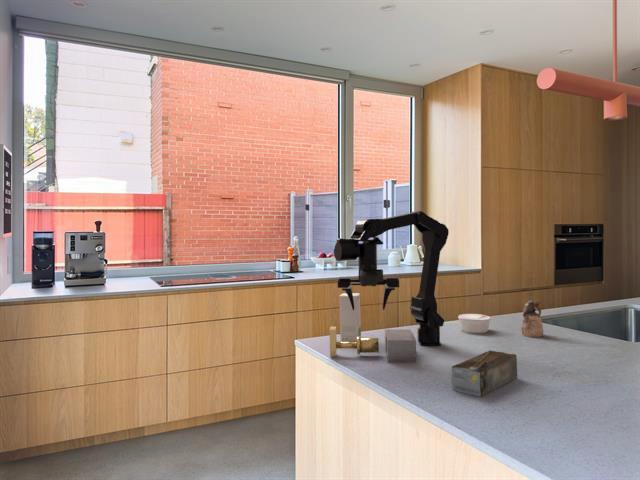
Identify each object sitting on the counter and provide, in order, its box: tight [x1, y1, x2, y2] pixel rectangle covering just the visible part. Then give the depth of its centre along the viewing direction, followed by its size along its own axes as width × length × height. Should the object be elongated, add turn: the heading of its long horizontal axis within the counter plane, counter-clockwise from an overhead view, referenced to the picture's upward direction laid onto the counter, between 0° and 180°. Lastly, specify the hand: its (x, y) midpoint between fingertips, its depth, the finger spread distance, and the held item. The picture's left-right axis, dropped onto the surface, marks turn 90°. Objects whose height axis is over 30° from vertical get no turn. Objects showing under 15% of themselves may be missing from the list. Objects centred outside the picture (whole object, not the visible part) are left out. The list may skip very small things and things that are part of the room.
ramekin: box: [457, 313, 492, 334], centre depth 175 cm, size 11×11×5 cm
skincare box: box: [338, 292, 362, 342], centre depth 165 cm, size 8×7×16 cm
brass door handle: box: [329, 326, 380, 357], centre depth 144 cm, size 14×5×8 cm, turn 86°
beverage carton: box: [451, 349, 518, 398], centre depth 117 cm, size 8×19×7 cm, turn 133°
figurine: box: [520, 300, 544, 338], centre depth 166 cm, size 7×7×12 cm
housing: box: [384, 328, 417, 364], centre depth 143 cm, size 8×14×6 cm, turn 176°
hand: (368, 309), depth 148 cm, fingers open, 9 cm apart
